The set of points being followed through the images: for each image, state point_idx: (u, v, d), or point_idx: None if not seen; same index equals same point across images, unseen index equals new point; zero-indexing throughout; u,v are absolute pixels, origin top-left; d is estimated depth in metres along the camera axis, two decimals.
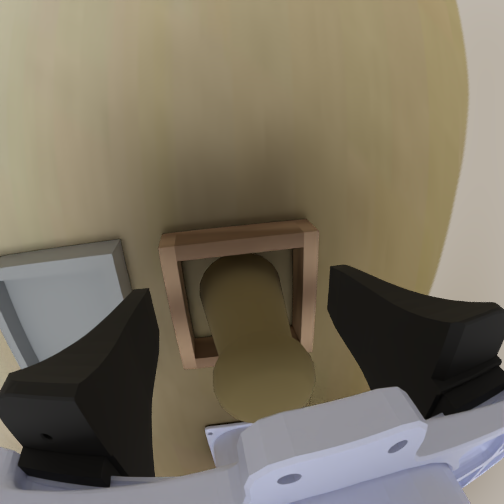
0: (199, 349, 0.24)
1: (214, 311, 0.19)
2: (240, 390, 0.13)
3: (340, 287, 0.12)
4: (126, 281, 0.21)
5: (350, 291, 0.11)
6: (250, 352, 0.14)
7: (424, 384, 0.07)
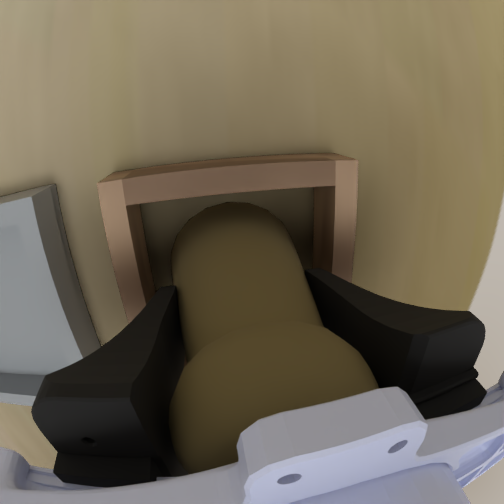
0: None
1: (185, 289, 0.11)
2: (222, 457, 0.05)
3: (313, 291, 0.11)
4: (60, 247, 0.13)
5: (322, 296, 0.11)
6: (246, 370, 0.06)
7: None
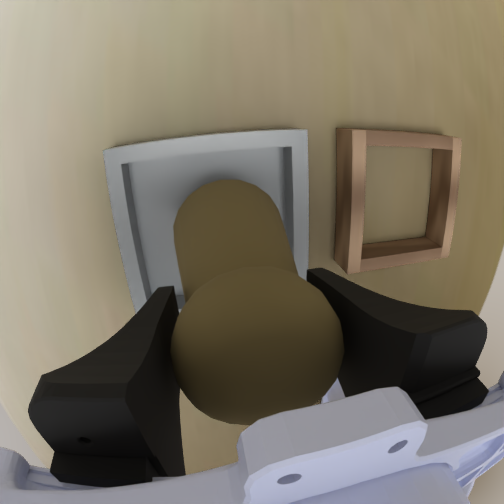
0: None
1: (185, 251, 0.13)
2: (210, 369, 0.07)
3: None
4: None
5: (324, 295, 0.11)
6: (226, 298, 0.08)
7: None
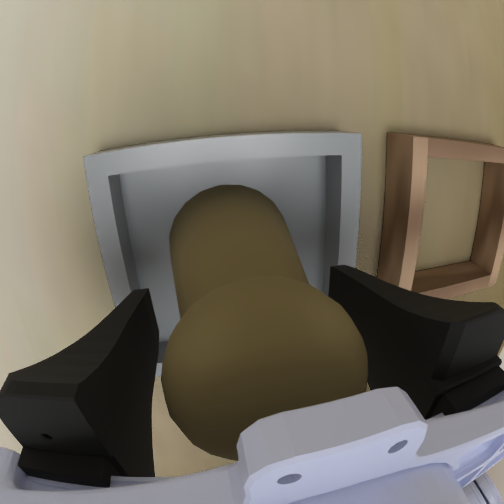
0: None
1: (180, 262, 0.11)
2: (208, 402, 0.06)
3: (340, 287, 0.12)
4: None
5: (350, 291, 0.11)
6: (228, 315, 0.06)
7: (424, 384, 0.07)
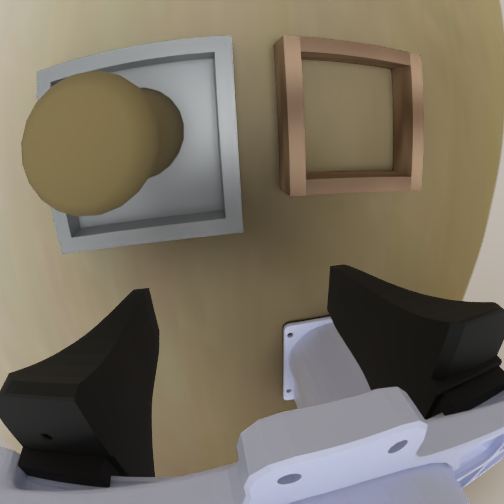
0: (306, 176, 0.20)
1: None
2: (33, 124, 0.08)
3: (340, 287, 0.12)
4: None
5: (350, 291, 0.11)
6: None
7: (424, 384, 0.07)
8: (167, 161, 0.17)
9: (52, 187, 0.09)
